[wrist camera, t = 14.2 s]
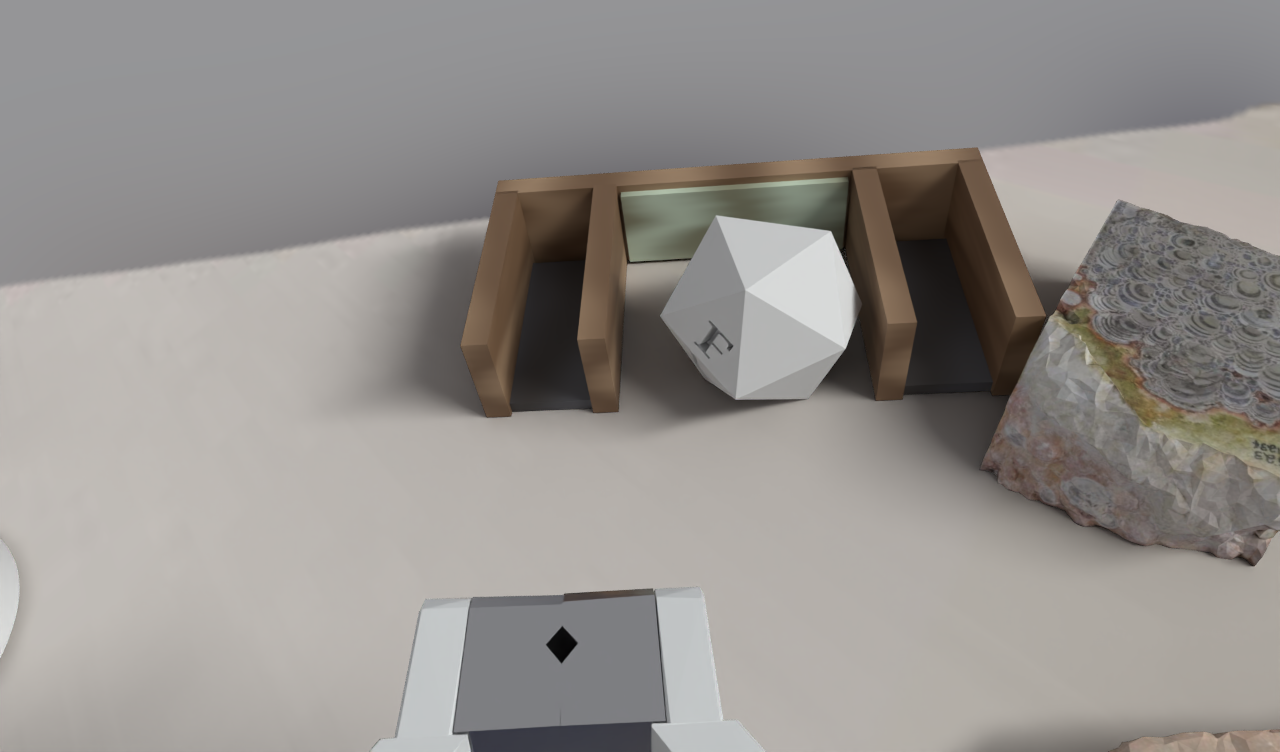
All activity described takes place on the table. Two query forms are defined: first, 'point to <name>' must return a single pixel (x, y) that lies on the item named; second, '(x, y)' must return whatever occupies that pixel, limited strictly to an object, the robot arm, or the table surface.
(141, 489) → the table surface
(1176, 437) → the geological specimen
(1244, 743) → the brick
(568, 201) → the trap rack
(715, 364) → the die
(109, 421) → the table surface
